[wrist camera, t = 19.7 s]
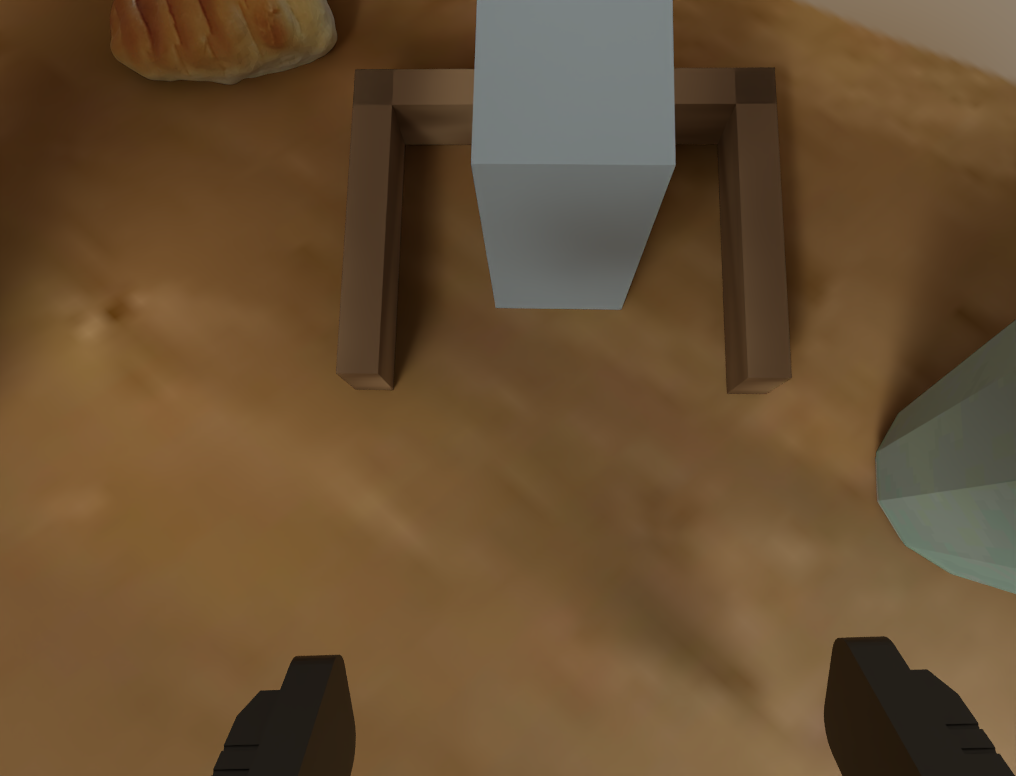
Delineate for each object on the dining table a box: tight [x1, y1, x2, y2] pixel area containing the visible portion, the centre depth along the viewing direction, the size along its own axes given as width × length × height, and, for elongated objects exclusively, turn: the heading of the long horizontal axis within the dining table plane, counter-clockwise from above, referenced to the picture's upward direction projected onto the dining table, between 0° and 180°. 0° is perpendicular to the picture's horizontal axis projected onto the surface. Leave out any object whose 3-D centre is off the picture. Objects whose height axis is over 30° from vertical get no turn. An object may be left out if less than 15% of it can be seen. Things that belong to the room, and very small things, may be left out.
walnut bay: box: [336, 68, 792, 394], centre depth 29 cm, size 16×12×3 cm
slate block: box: [471, 0, 676, 310], centre depth 25 cm, size 5×5×12 cm
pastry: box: [110, 0, 337, 84], centre depth 32 cm, size 9×7×4 cm
